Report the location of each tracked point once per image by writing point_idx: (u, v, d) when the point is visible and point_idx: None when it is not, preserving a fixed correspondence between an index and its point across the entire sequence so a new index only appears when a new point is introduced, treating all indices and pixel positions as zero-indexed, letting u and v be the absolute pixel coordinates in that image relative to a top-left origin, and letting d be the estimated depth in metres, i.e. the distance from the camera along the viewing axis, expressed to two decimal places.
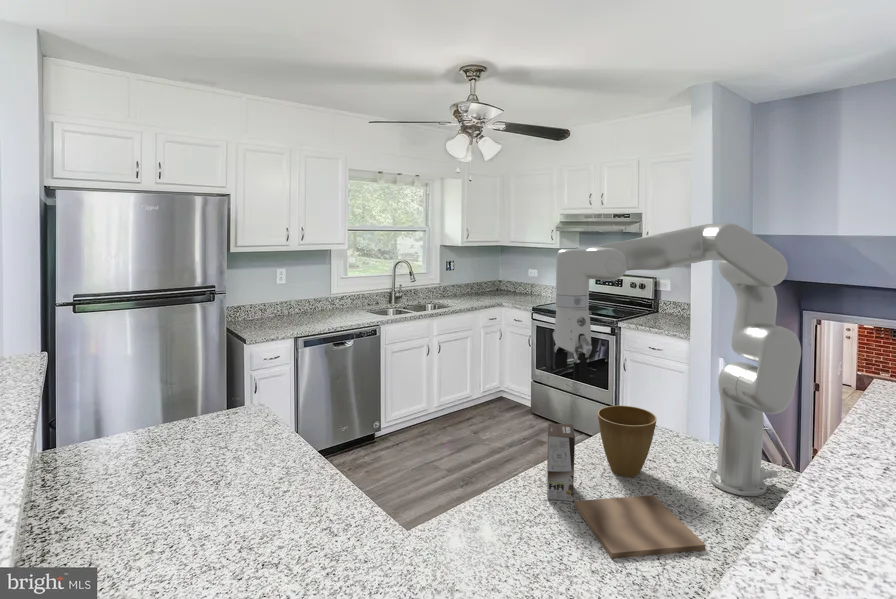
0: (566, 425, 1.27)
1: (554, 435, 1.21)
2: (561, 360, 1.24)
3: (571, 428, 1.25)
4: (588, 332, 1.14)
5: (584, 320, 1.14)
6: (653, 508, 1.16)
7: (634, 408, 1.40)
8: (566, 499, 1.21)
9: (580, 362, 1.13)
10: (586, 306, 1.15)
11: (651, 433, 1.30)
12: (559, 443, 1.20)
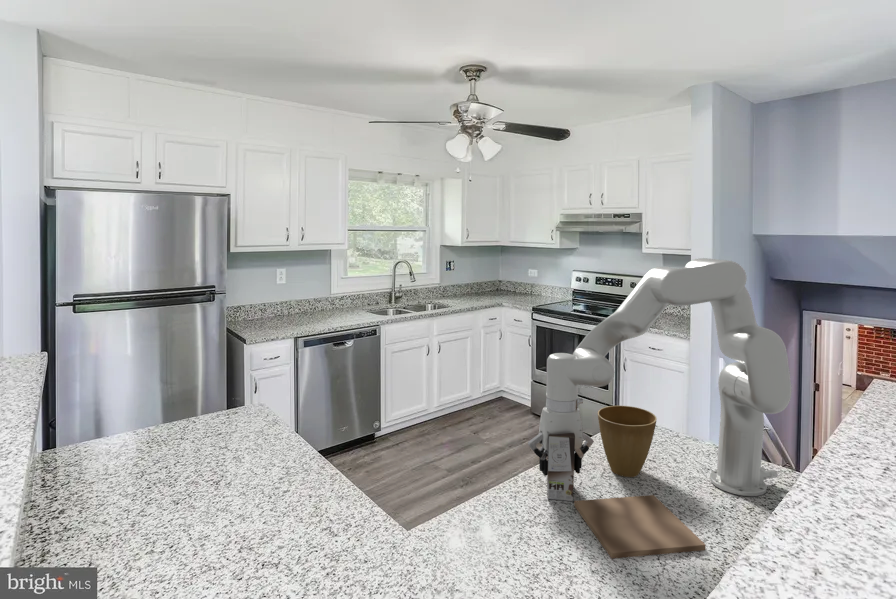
0: None
1: (554, 435, 1.21)
2: None
3: None
4: None
5: None
6: (653, 508, 1.16)
7: (634, 408, 1.40)
8: (566, 499, 1.21)
9: None
10: None
11: (651, 433, 1.30)
12: (559, 443, 1.20)
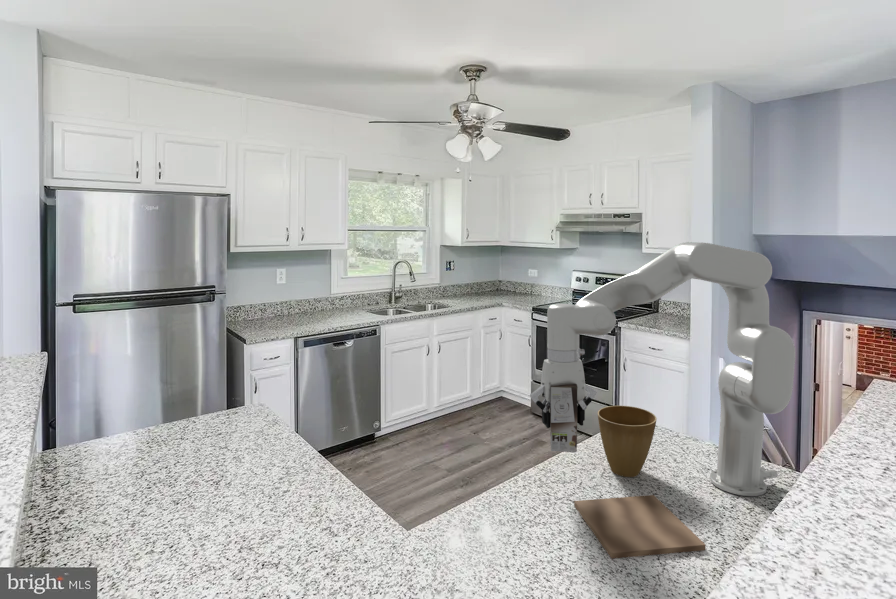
0: None
1: (556, 386, 1.20)
2: None
3: None
4: None
5: None
6: (653, 508, 1.16)
7: (634, 408, 1.40)
8: (570, 450, 1.20)
9: None
10: None
11: (651, 433, 1.30)
12: (561, 393, 1.19)
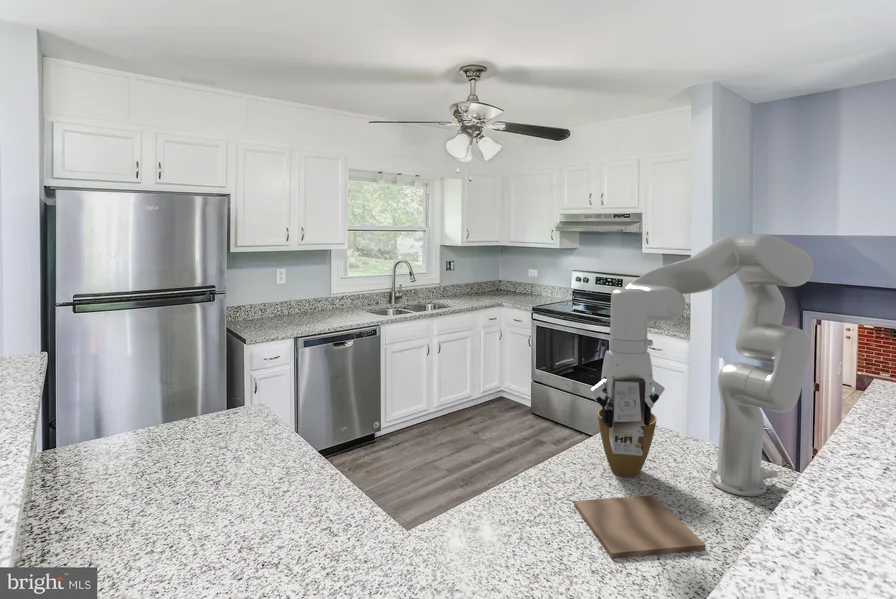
0: None
1: (621, 380, 1.06)
2: None
3: None
4: None
5: None
6: (653, 508, 1.16)
7: None
8: (635, 453, 1.06)
9: None
10: None
11: (651, 433, 1.30)
12: (627, 389, 1.05)
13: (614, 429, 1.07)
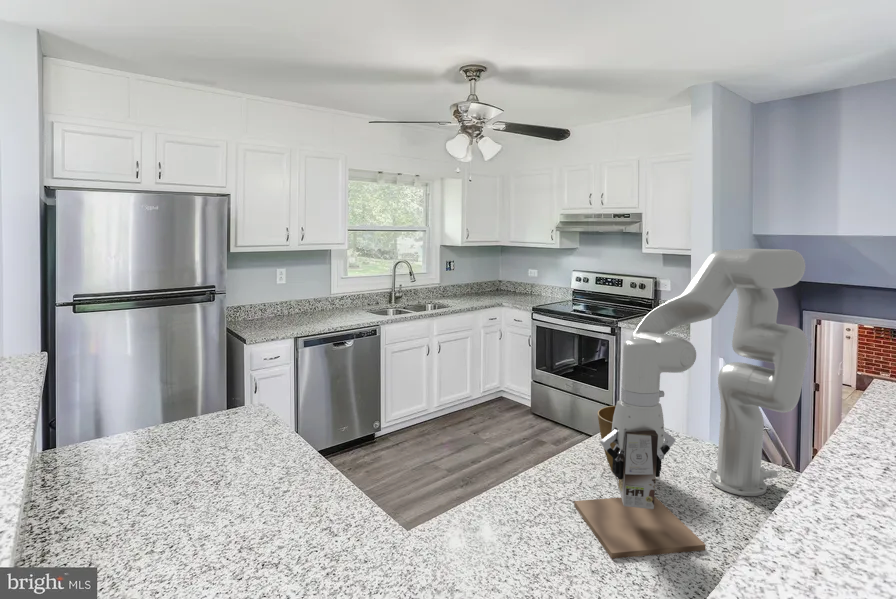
0: None
1: (633, 432, 1.05)
2: None
3: None
4: None
5: None
6: None
7: None
8: (646, 507, 1.05)
9: None
10: None
11: None
12: (639, 442, 1.04)
13: (625, 482, 1.05)
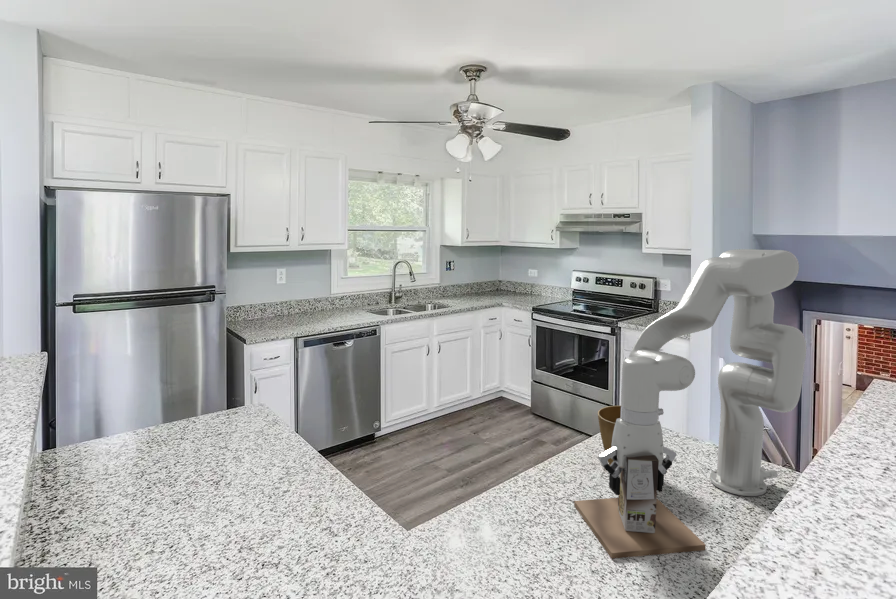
0: None
1: (634, 458, 1.05)
2: None
3: None
4: None
5: None
6: None
7: None
8: (647, 531, 1.06)
9: None
10: None
11: None
12: (640, 467, 1.05)
13: (627, 507, 1.06)
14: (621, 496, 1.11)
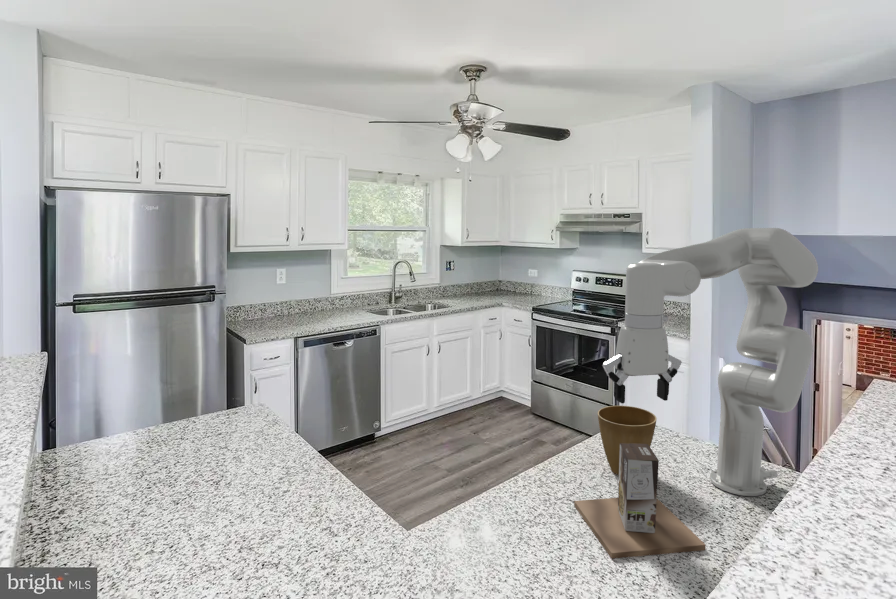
0: (641, 445, 1.12)
1: (634, 458, 1.05)
2: None
3: (649, 449, 1.10)
4: None
5: None
6: None
7: (634, 408, 1.40)
8: (647, 531, 1.06)
9: None
10: None
11: (651, 433, 1.30)
12: (640, 467, 1.05)
13: (627, 507, 1.06)
14: (621, 496, 1.11)
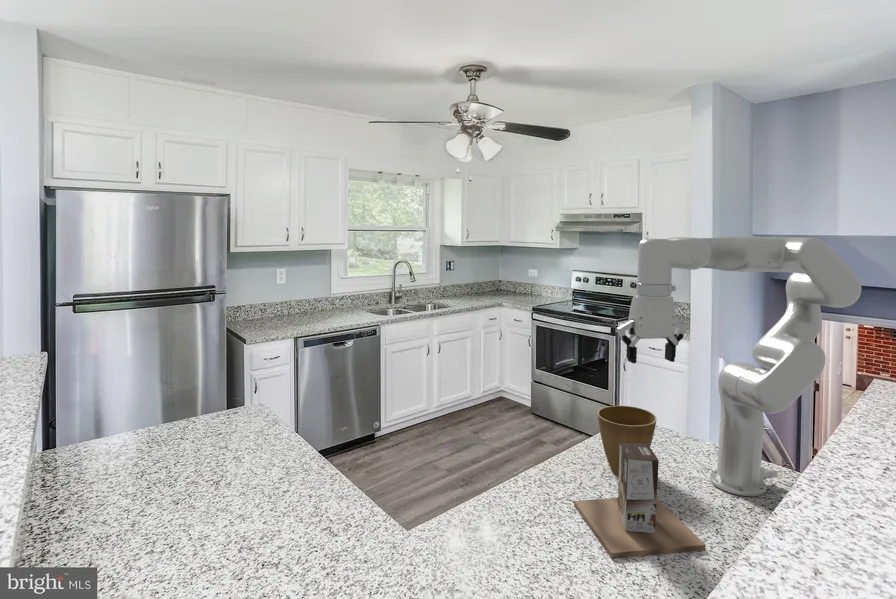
0: (641, 445, 1.12)
1: (634, 458, 1.05)
2: None
3: (649, 449, 1.10)
4: None
5: None
6: None
7: (634, 408, 1.40)
8: (647, 531, 1.06)
9: None
10: None
11: (651, 433, 1.30)
12: (640, 467, 1.05)
13: (627, 507, 1.06)
14: (621, 496, 1.11)
